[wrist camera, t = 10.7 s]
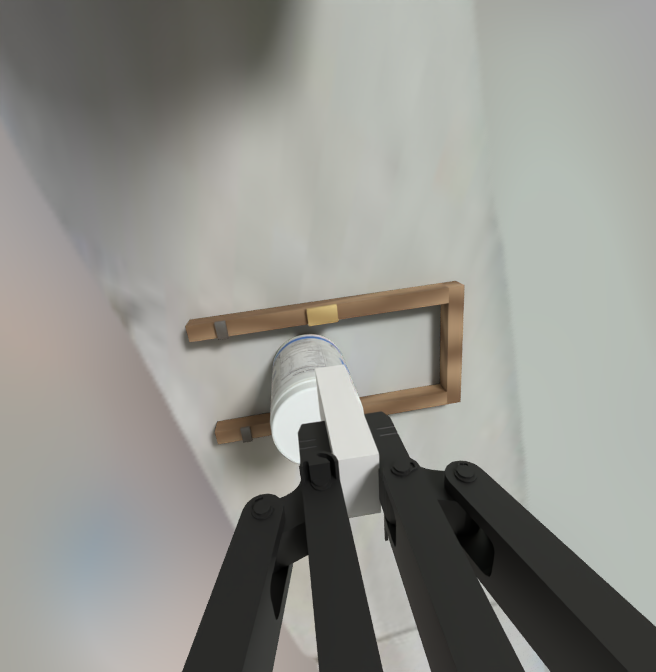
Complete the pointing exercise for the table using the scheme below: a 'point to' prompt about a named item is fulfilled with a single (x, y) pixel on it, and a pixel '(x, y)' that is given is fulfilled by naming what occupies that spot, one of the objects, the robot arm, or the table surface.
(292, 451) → the supplement tub
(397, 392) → the beam track
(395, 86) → the table surface
